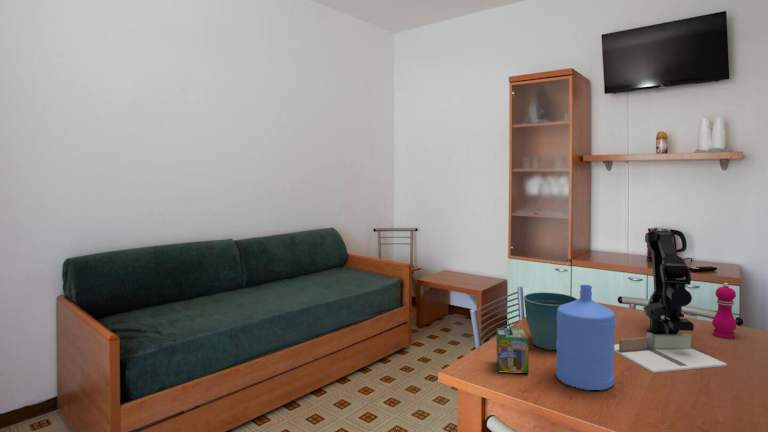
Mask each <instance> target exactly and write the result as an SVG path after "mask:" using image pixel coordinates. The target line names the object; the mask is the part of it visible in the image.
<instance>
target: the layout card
mask: <svg viewBox="0 0 768 432" xmlns="http://www.w3.org/2000/svg"><path fill="white" fill-rule="evenodd" d="M653 335H654V333H651V332H649V331H647V332H646V335H645V336H643V337H641V336H640V337H629V338H619V343H617V344H615V343H614V347H615V353H616V354H618V355H620V356H622V357H624V358H625V359H626V360H629V361H630V362H632V363H635V364H636V365H638V366H639V367H642V368H643V369H646V370H648V371H649V372H651V373H652V374H657V373H666V372H667V373H668V372H677V371H679V372H680V371H689V370H696V369H697V370H699V369H707V368H716V367H717V368H720V367H727V366H728V363H726V362H724V361H722V360H720V359H716V358H715V357H712V356H710V355H708V354H705V353H702V352H700V351H698V350H696V349H694V348H656V349H654V348H653Z"/></svg>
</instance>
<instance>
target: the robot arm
mask: <svg viewBox="0 0 768 432" xmlns="http://www.w3.org/2000/svg"><path fill="white" fill-rule="evenodd" d="M673 239H674V236H673V232H672V231H670V230H649V231H648V232H646V233H645V235H644V241H645V243H646V248H647V250H649V252H650V253H651V257H652V258H651V259H652V260H651V261H652V277H653V278H652V279H653V292H652V293H651V295H650V297H649V301H648V302H647V305H644V306H643V311H644V313H645V317H647V318H648V319H649V328H646V331H647V332H649V333H653V335H654V334H679V332H680V331H685V332H687V331H688V332H689V331H690V332H691V331H692V332H694V331H695V324H694V323H693V322H692V321H691V320H689V319H688V318H685V313H683V307H687V306H688V305H690V303H691V302H692V300H693V298H692V297H693V296H692V294H691V293H690V291H688V290H687V289H686V285H688V286H689V285H690V286H691V282H692V275H691V271H690V268H689V266H688V265H687V264H686V262H685V260H684V259H683V258H682V257H680V256H679V255H678V253H677V250H676V247H675V243H674V240H673Z"/></svg>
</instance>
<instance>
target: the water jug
mask: <svg viewBox="0 0 768 432" xmlns="http://www.w3.org/2000/svg"><path fill="white" fill-rule="evenodd" d="M579 287H580V290H579V299H577V300H576V301H573V302H570V303H566V304H563V305H561V306H559V307H558V309H557V341H556V349H557V350H556V367H555V374H556V378H557V379H558V381H560V380H561V381H560V382H561V383H563V384H565V385H567V386H569V385H570V386H569V387H571V386H572V388H574V387H576V388H575V389H578V388H579V390H582V389H584V390H585V391H590V390H599V391H604V390H605V391H606V390H608V389H609V388H611V387H613V386H614V383H615V375H614V363H615V362H614V361H615V353H616V352H615V347H614V345H615V333H616V331H615V329H616V314H615V312H614V311H613V310H612V309H610V308H608V307H606V306H604V305H602V304H601V303H598V302H596V301H594V300H593V298H592V294H593V292H592V288H593V286H592V285H587V284H580V285H579ZM584 390H583V391H584Z"/></svg>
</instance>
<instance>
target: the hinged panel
mask: <svg viewBox="0 0 768 432" xmlns="http://www.w3.org/2000/svg"><path fill="white" fill-rule="evenodd" d="M692 336H693V335H691V334H689V333H677V334H654V333H653V348H654V349H656V348H691V347H692ZM691 349H692V348H691Z"/></svg>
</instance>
